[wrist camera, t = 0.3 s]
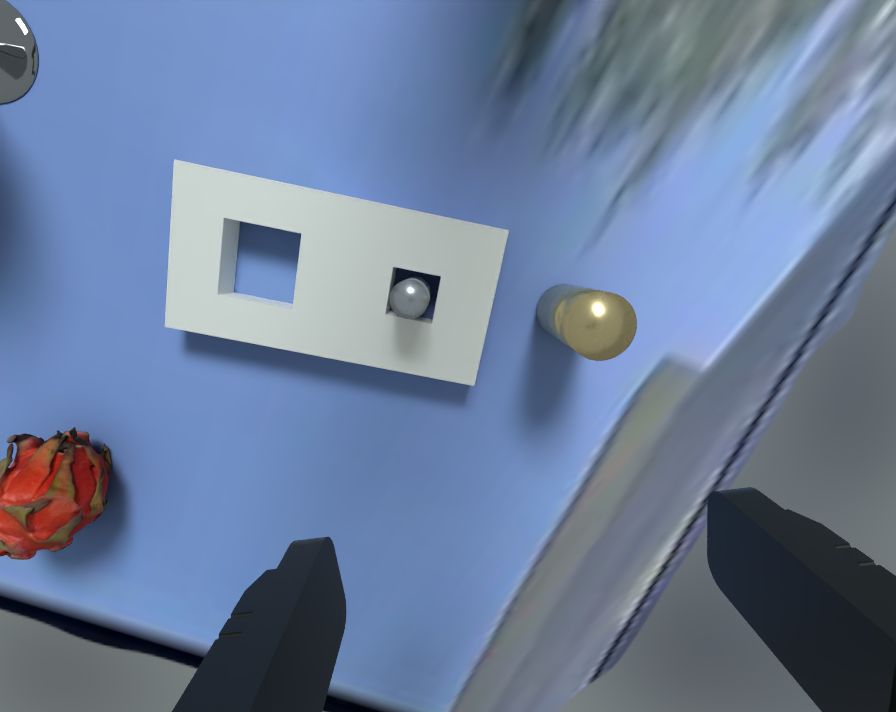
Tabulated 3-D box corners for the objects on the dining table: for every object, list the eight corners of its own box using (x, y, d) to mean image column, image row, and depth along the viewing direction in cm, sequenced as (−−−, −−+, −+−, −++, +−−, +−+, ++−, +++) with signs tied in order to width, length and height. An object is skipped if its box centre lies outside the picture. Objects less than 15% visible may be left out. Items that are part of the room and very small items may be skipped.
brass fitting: (543, 279, 34) (578, 285, 25) (593, 289, 34) (645, 299, 25) (530, 330, 35) (560, 353, 26) (579, 339, 35) (625, 366, 26)
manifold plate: (194, 167, 32) (174, 159, 29) (504, 232, 33) (509, 230, 30) (184, 322, 34) (164, 326, 32) (472, 377, 36) (474, 386, 33)
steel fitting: (402, 273, 34) (393, 276, 28) (434, 280, 34) (431, 284, 28) (396, 305, 34) (386, 315, 28) (427, 312, 34) (424, 322, 28)
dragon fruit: (61, 513, 40) (127, 408, 39) (89, 580, 36) (163, 463, 35) (-75, 523, 32) (5, 393, 32) (-59, 609, 28) (33, 461, 28)
